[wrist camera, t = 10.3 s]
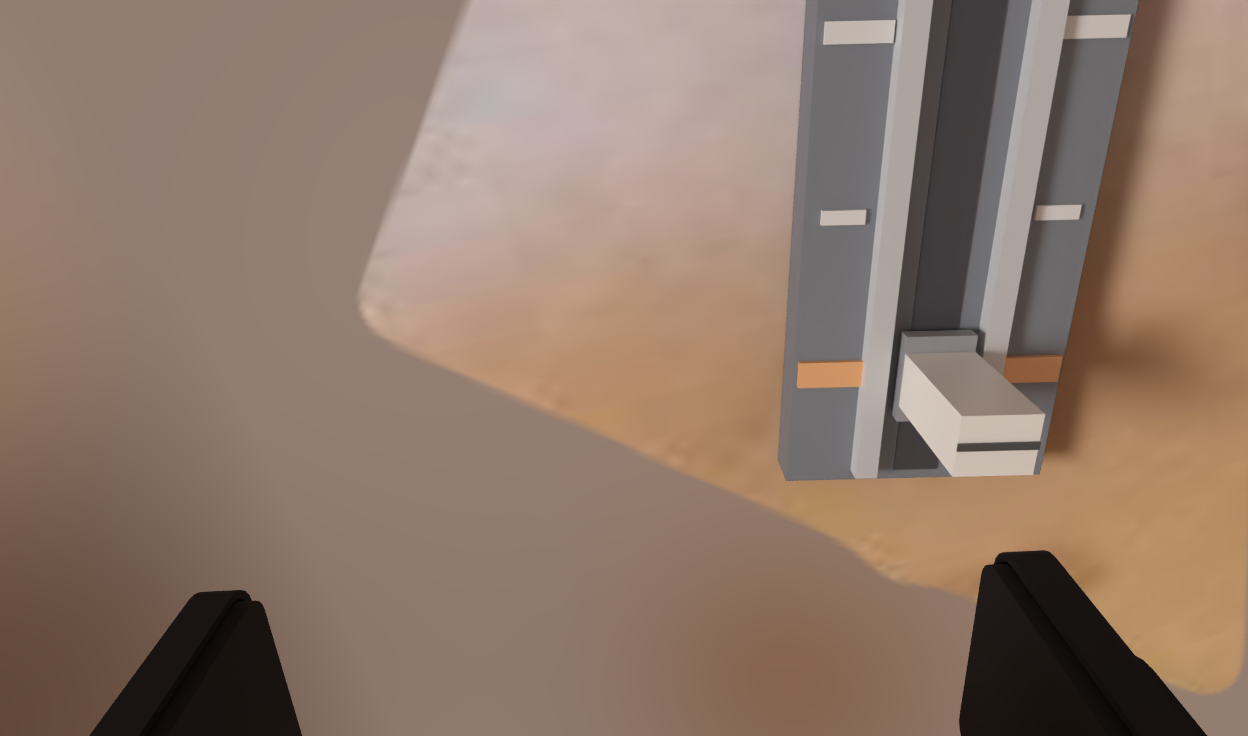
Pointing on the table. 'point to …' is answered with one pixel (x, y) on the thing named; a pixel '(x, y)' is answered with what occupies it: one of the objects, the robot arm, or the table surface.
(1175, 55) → the table surface
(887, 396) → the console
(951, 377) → the fader knob
